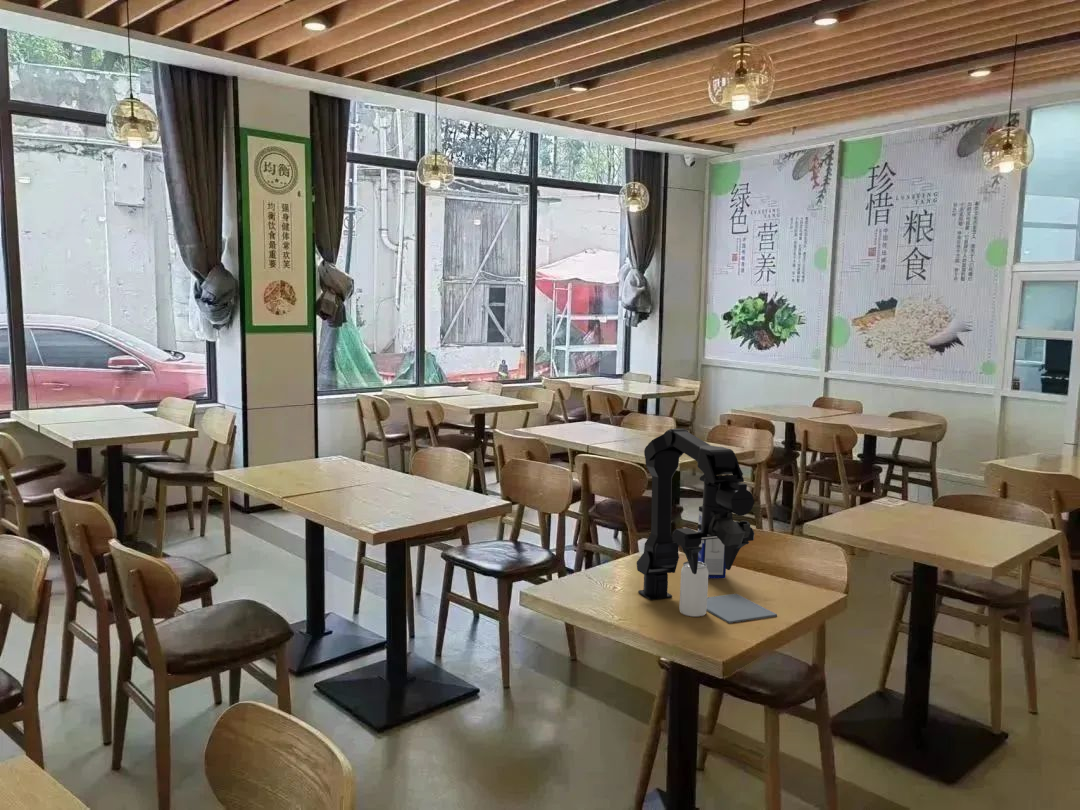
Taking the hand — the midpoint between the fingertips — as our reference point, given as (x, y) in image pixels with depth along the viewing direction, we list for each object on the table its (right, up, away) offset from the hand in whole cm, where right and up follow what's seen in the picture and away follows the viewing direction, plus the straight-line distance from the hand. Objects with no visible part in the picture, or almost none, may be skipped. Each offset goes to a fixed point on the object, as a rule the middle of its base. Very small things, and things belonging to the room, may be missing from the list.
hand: (711, 571), depth 196 cm
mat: (+8, -12, +16) cm, 22 cm away
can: (-2, -13, +13) cm, 18 cm away
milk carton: (+8, -9, +44) cm, 45 cm away
